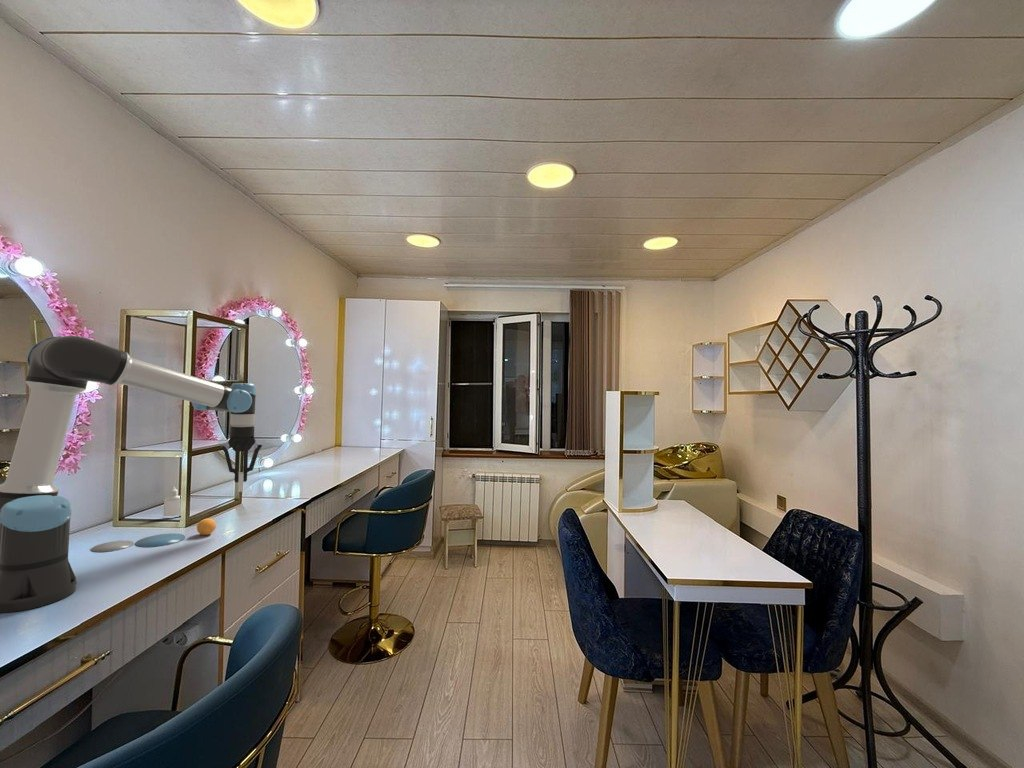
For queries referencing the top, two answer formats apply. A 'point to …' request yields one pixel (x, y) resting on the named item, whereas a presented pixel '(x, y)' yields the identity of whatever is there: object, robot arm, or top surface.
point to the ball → (206, 526)
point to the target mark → (160, 540)
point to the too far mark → (112, 546)
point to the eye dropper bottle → (172, 503)
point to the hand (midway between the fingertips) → (240, 490)
